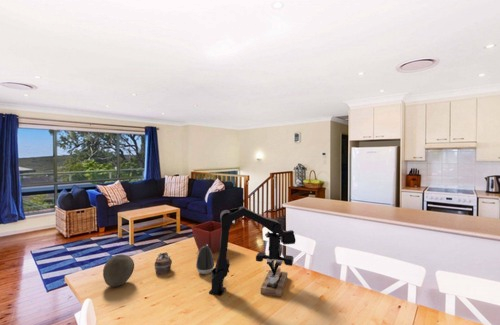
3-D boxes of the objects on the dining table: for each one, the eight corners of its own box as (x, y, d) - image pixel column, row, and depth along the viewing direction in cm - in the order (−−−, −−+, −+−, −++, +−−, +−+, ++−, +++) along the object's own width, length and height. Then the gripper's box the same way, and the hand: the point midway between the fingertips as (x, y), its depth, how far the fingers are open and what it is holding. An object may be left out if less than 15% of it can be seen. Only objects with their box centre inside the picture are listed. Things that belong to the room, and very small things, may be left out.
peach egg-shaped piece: (279, 279, 130) (279, 270, 129) (272, 278, 131) (272, 269, 131) (281, 275, 133) (281, 267, 133) (273, 274, 135) (273, 266, 134)
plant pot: (210, 257, 161) (210, 232, 161) (191, 250, 173) (190, 226, 172) (229, 248, 177) (229, 225, 176) (211, 242, 188) (210, 220, 187)
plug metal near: (275, 288, 119) (275, 278, 119) (267, 286, 120) (267, 277, 120) (277, 284, 123) (277, 274, 123) (269, 282, 124) (269, 273, 124)
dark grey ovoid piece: (216, 268, 146) (216, 242, 146) (211, 276, 136) (211, 249, 135) (199, 267, 147) (199, 242, 147) (193, 276, 137) (193, 249, 136)
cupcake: (152, 270, 144) (151, 253, 144) (168, 265, 150) (168, 249, 149) (157, 276, 136) (156, 259, 136) (174, 271, 142) (174, 254, 142)
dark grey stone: (121, 293, 120) (120, 263, 120) (96, 290, 123) (95, 260, 123) (139, 278, 134) (139, 251, 134) (117, 276, 137) (116, 249, 137)
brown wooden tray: (281, 297, 116) (281, 291, 116) (260, 293, 119) (260, 287, 119) (287, 277, 135) (287, 272, 134) (269, 275, 138) (269, 269, 137)
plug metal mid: (277, 286, 124) (277, 277, 124) (270, 285, 126) (270, 276, 125) (279, 282, 128) (279, 273, 128) (271, 281, 129) (271, 272, 129)
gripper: (294, 241, 131) (294, 270, 132) (261, 237, 137) (261, 265, 137) (292, 249, 120) (291, 280, 121) (255, 245, 126) (255, 275, 127)
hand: (274, 274), depth 127 cm, fingers closed, pressing on plug metal mid
